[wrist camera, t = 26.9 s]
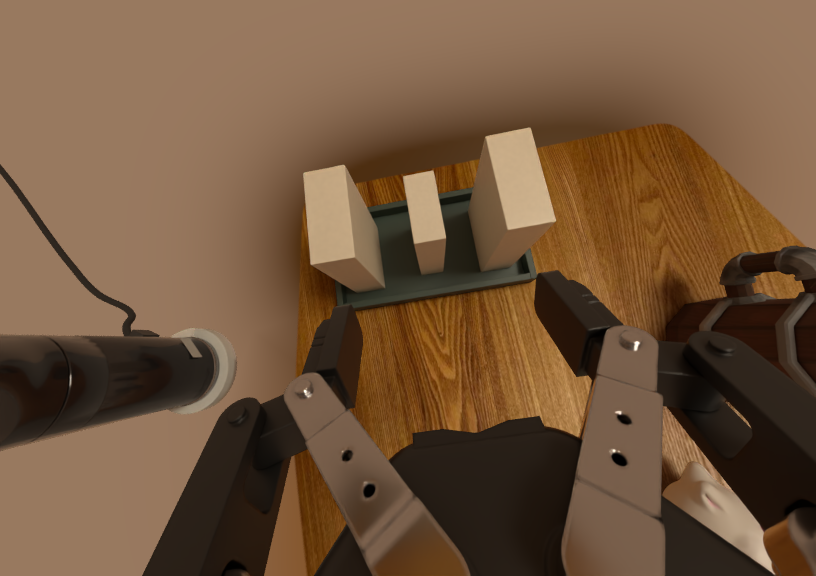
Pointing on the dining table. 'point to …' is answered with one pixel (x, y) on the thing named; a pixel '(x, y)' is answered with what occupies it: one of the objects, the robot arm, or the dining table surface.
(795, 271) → the mug
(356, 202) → the cream book
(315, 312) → the dining table surface
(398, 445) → the dining table surface
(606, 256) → the dining table surface
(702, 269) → the dining table surface
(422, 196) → the thin cream book
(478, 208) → the cream book
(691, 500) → the cream animal figurine
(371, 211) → the book tray
